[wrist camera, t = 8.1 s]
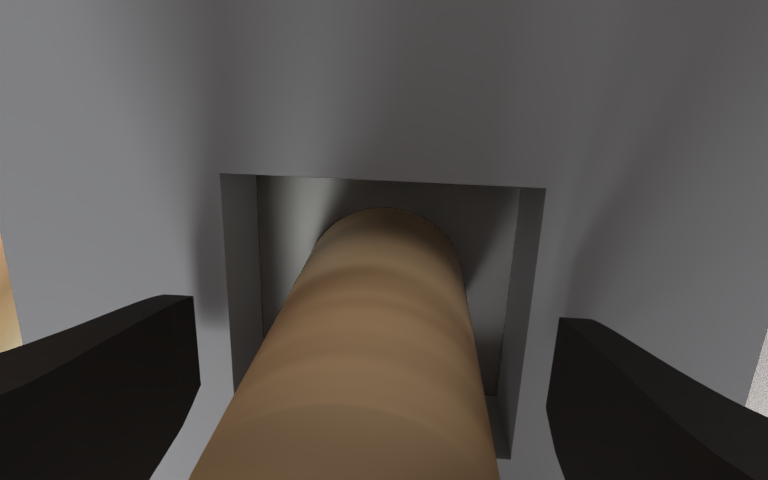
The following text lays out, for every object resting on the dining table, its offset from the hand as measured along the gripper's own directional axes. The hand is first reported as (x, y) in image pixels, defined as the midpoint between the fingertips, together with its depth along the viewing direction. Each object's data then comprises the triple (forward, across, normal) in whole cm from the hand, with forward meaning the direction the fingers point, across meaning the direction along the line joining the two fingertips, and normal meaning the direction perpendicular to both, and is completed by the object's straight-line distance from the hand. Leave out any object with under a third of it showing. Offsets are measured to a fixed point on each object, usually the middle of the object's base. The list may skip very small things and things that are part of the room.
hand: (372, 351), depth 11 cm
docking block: (+3, 0, 0) cm, 3 cm away
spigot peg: (+3, 0, 0) cm, 3 cm away
